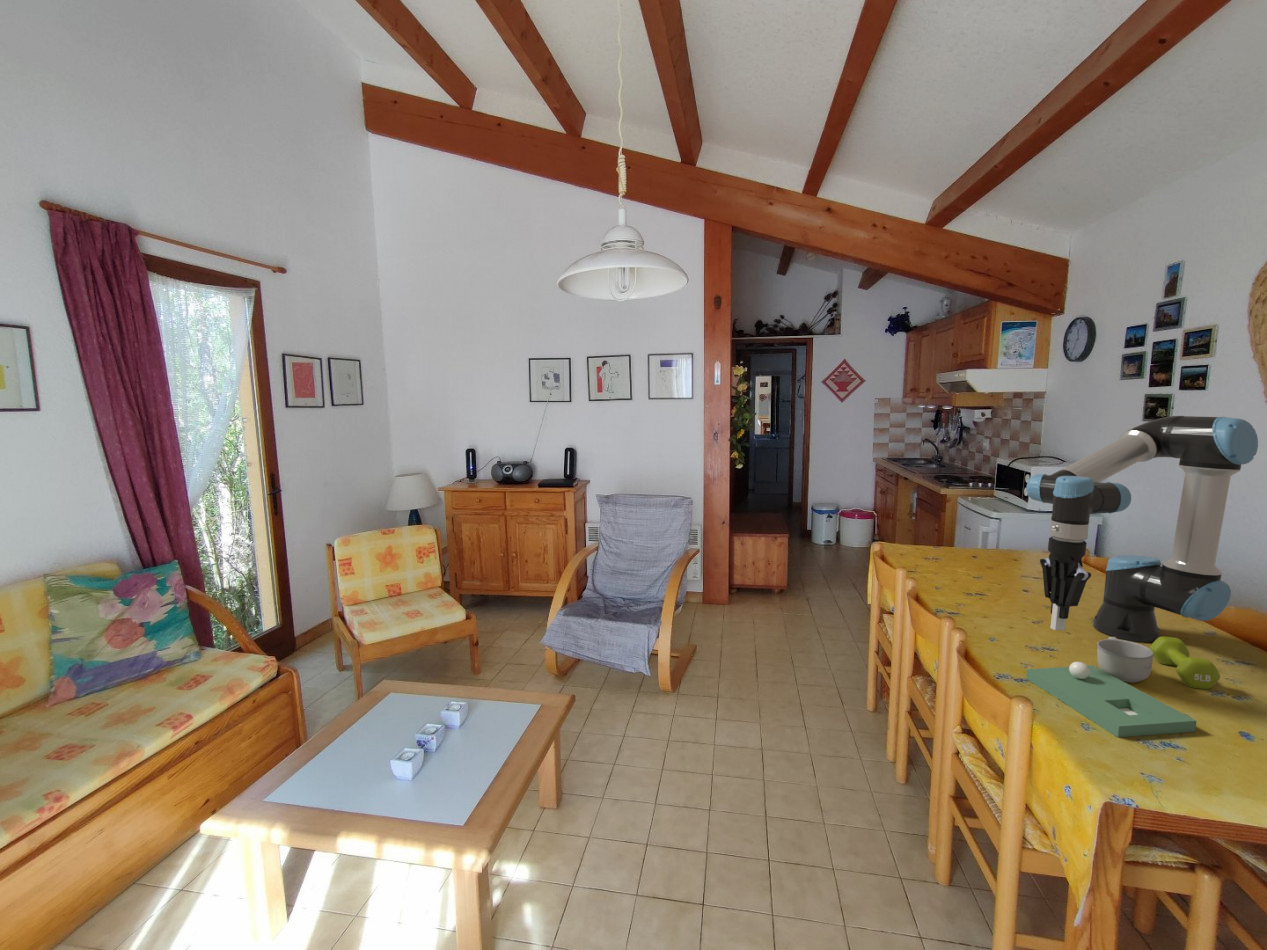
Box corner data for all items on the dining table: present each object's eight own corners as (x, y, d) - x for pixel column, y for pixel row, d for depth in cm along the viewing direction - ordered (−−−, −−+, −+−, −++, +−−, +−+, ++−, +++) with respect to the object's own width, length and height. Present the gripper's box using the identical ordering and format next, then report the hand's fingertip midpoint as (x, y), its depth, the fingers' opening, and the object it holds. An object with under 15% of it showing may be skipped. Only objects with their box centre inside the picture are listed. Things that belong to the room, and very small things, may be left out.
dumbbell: (1145, 658, 155) (1149, 633, 154) (1182, 662, 153) (1186, 637, 152) (1179, 688, 140) (1183, 660, 139) (1221, 693, 137) (1225, 665, 136)
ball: (1079, 673, 142) (1080, 658, 142) (1093, 681, 138) (1095, 666, 138) (1064, 674, 142) (1065, 659, 141) (1078, 682, 138) (1079, 666, 137)
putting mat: (1091, 674, 147) (1092, 665, 146) (1195, 731, 122) (1196, 720, 122) (1026, 678, 145) (1026, 669, 145) (1117, 737, 120) (1118, 726, 120)
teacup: (1154, 691, 138) (1158, 660, 137) (1097, 680, 144) (1100, 650, 143) (1142, 667, 150) (1145, 638, 149) (1089, 658, 156) (1092, 630, 154)
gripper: (1033, 532, 148) (1024, 619, 152) (1076, 545, 135) (1065, 640, 139) (1059, 531, 149) (1050, 618, 152) (1105, 545, 136) (1093, 639, 139)
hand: (1057, 628), depth 146 cm, fingers closed
